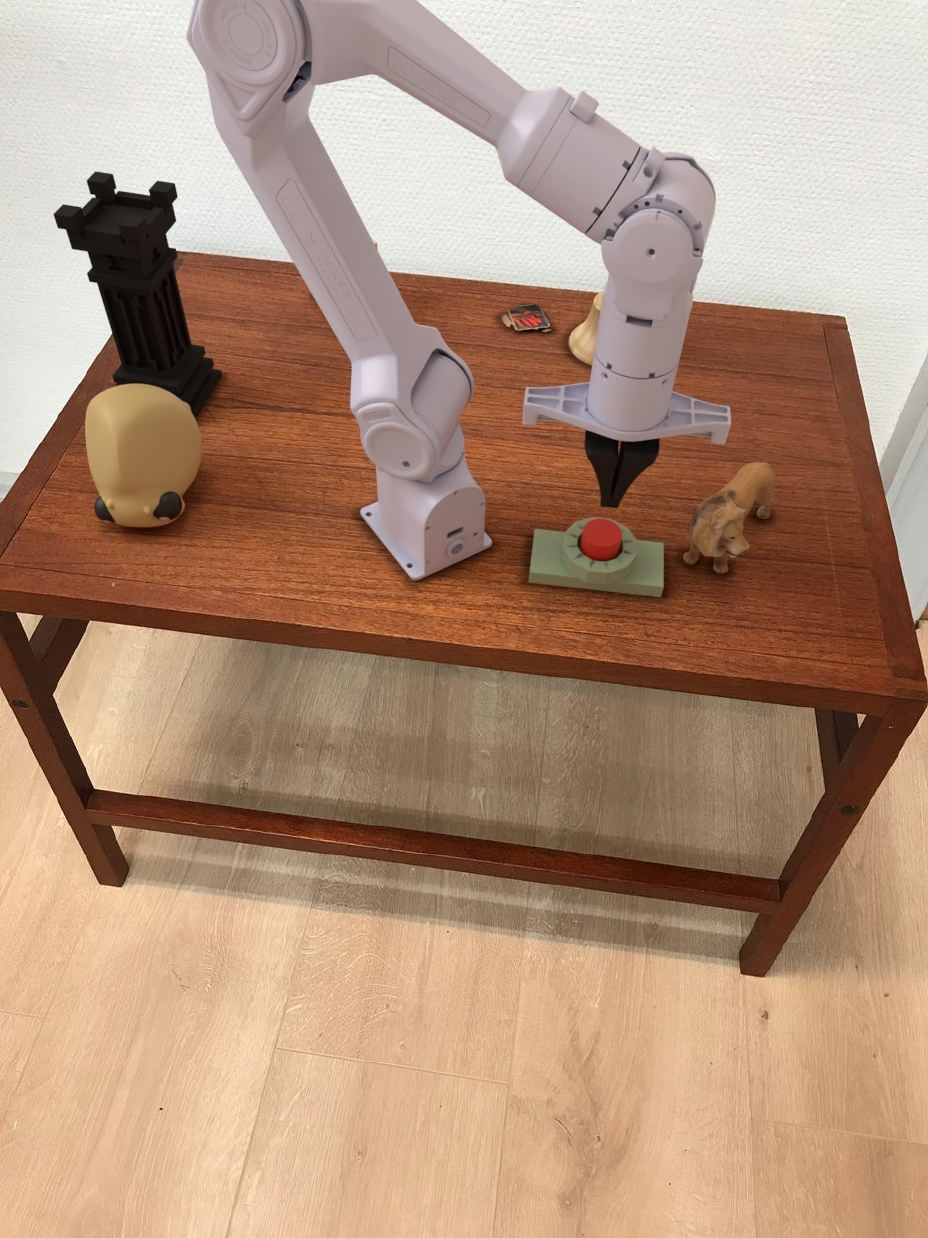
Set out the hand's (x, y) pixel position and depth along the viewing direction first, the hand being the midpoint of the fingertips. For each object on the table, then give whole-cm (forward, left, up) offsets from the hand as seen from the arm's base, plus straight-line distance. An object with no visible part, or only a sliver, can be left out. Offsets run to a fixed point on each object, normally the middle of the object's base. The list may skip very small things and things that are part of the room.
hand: (609, 498), depth 76 cm
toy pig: (+28, +28, -8) cm, 41 cm away
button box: (0, 0, -8) cm, 8 cm away
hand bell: (+24, -20, -8) cm, 32 cm away
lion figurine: (-4, -11, -8) cm, 14 cm away
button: (0, 0, -5) cm, 5 cm away
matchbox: (+32, -15, -8) cm, 36 cm away
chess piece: (+40, +22, -8) cm, 46 cm away
